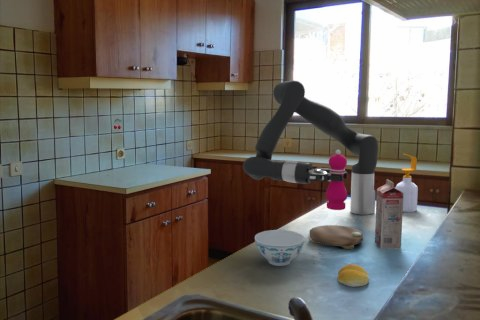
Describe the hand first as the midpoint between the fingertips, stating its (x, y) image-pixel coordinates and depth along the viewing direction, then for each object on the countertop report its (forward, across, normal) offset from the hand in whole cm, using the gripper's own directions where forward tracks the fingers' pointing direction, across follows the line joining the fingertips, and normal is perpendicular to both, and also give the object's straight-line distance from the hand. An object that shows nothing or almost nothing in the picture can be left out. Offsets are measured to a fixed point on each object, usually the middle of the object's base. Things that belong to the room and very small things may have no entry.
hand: (344, 176), depth 153 cm
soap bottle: (+13, +55, +23) cm, 61 cm away
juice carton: (+14, +4, +23) cm, 27 cm away
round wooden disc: (-2, 0, +23) cm, 23 cm away
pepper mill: (-3, 0, +11) cm, 12 cm away
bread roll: (+11, -30, +23) cm, 39 cm away
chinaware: (-12, -26, +23) cm, 37 cm away
